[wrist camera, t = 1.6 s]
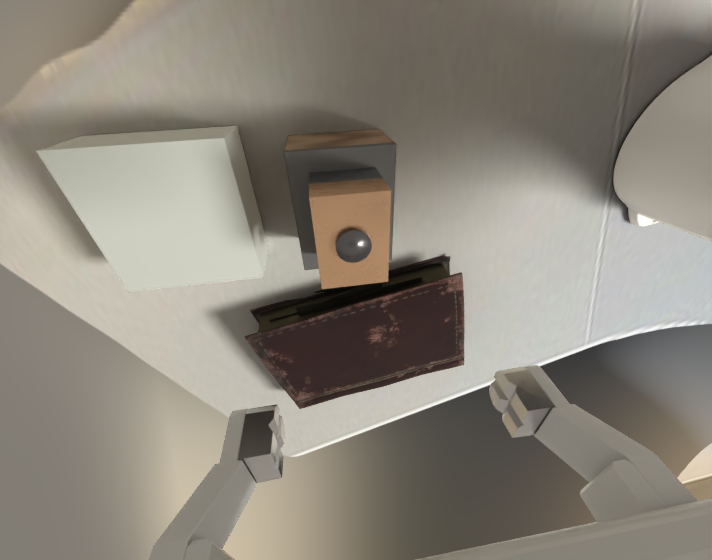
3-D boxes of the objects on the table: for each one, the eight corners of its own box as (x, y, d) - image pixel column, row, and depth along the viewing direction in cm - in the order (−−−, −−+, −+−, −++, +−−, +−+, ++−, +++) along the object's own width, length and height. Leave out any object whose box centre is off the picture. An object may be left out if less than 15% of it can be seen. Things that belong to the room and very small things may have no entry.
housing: (375, 167, 22) (392, 192, 18) (375, 248, 26) (389, 284, 22) (308, 172, 21) (309, 200, 17) (319, 254, 26) (322, 292, 21)
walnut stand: (379, 129, 26) (396, 144, 21) (378, 230, 32) (391, 260, 27) (288, 135, 25) (284, 152, 20) (304, 238, 31) (304, 270, 26)
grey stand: (237, 125, 24) (223, 138, 20) (268, 250, 31) (263, 277, 28) (82, 135, 23) (35, 150, 19) (151, 262, 30) (127, 292, 26)
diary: (451, 342, 46) (465, 369, 43) (301, 384, 47) (301, 413, 43) (446, 246, 35) (464, 270, 31) (247, 303, 36) (240, 334, 32)
